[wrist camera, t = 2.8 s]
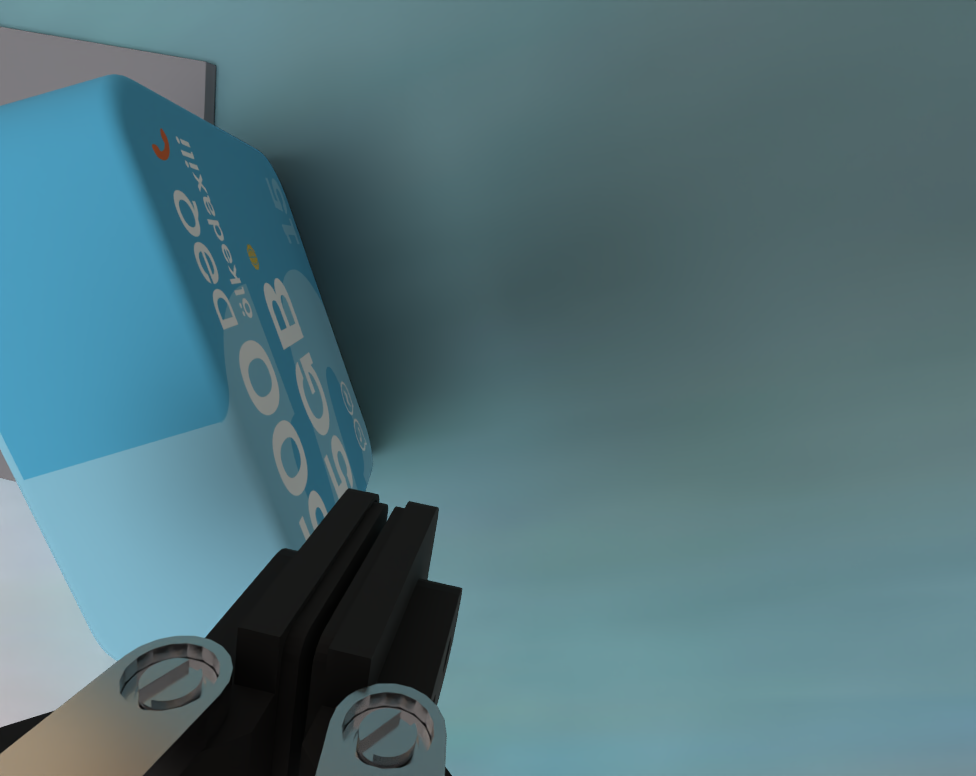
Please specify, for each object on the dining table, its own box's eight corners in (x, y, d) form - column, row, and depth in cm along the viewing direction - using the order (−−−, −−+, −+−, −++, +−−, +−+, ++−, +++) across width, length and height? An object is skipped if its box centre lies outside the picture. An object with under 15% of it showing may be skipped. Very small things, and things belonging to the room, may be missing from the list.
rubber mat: (215, 65, 21) (205, 61, 21) (199, 517, 27) (191, 524, 26) (-139, 5, 23) (-157, -1, 22) (-87, 448, 28) (-100, 453, 28)
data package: (378, 458, 25) (323, 642, 13) (270, 490, 25) (119, 703, 13) (272, 154, 22) (85, 45, 10) (151, 190, 22) (-174, 119, 10)
